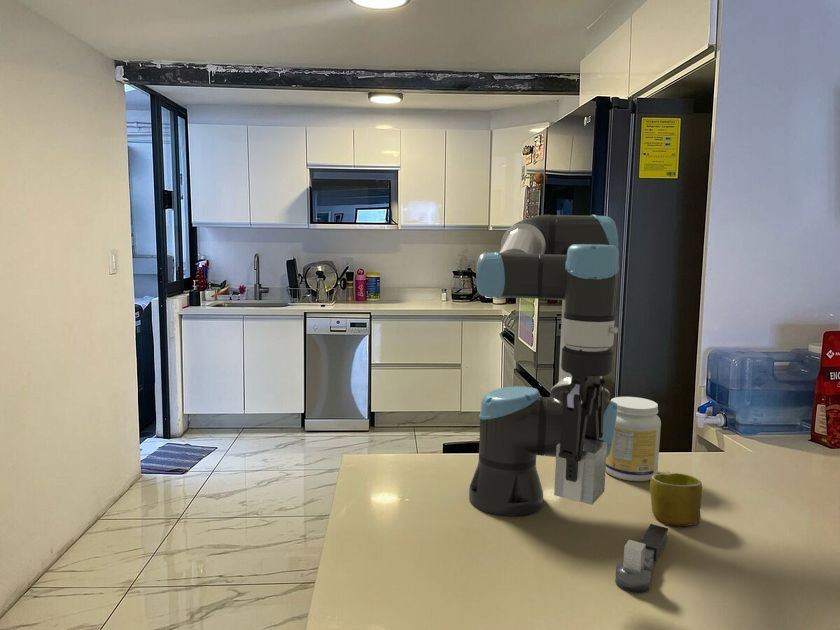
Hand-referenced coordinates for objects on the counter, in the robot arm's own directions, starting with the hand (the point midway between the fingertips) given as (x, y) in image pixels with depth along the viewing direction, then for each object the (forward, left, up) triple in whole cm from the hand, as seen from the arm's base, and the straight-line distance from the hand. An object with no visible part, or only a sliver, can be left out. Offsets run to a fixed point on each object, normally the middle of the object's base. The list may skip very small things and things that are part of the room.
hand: (579, 491), depth 98 cm
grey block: (0, 0, 0) cm, 0 cm away
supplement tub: (-5, +52, -15) cm, 54 cm away
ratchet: (+8, +12, -15) cm, 20 cm away
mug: (+8, +34, -15) cm, 38 cm away
